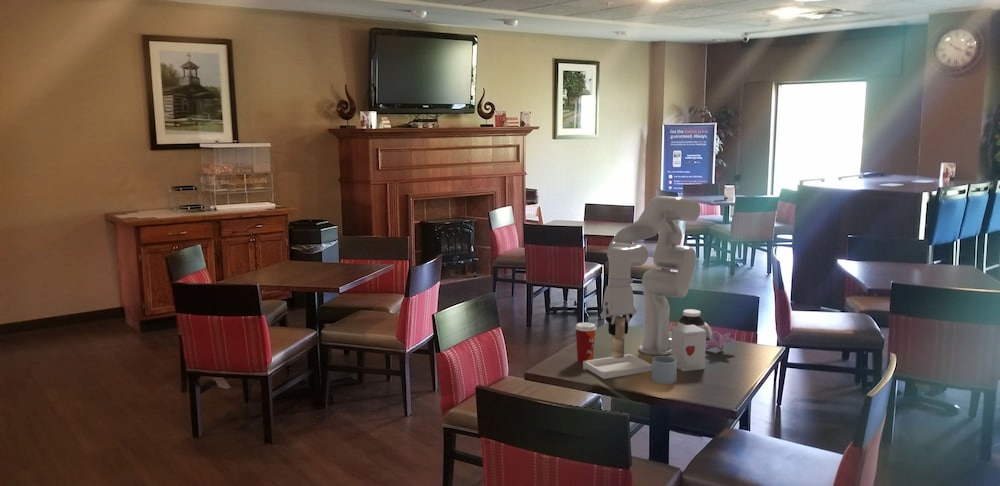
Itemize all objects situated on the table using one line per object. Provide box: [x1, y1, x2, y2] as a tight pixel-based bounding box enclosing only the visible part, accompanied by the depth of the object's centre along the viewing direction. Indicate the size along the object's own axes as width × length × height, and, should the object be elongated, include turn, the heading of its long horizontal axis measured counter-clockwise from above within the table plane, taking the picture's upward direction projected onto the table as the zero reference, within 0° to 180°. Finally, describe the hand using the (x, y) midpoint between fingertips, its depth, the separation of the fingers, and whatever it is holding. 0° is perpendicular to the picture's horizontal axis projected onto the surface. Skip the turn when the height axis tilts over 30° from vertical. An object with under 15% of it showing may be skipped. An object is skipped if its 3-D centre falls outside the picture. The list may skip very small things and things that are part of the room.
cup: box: [650, 355, 678, 385], centre depth 245 cm, size 8×8×8 cm
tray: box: [582, 353, 652, 380], centre depth 257 cm, size 20×14×3 cm
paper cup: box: [574, 322, 597, 365], centre depth 266 cm, size 8×8×14 cm
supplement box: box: [670, 325, 707, 372], centre depth 258 cm, size 9×9×15 cm
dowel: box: [610, 315, 626, 358], centre depth 255 cm, size 4×4×14 cm
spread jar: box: [677, 308, 713, 340], centre depth 294 cm, size 12×11×12 cm
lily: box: [705, 330, 736, 357], centre depth 275 cm, size 12×12×10 cm
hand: (618, 333), depth 254 cm, fingers closed on dowel, 4 cm apart
